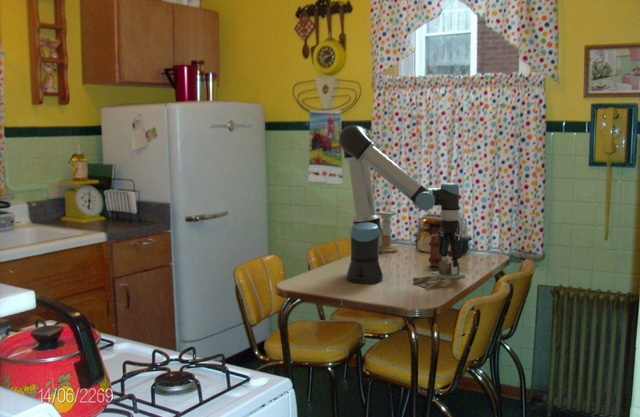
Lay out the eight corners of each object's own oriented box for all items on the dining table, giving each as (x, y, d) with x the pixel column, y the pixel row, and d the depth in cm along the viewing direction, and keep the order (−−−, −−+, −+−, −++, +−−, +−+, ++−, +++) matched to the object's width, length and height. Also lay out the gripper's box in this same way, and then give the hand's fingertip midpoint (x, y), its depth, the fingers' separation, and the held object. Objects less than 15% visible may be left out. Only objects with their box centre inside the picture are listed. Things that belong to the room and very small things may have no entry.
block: (445, 275, 275) (445, 263, 275) (438, 272, 280) (439, 261, 279) (459, 273, 278) (459, 262, 278) (452, 271, 283) (452, 260, 282)
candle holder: (385, 247, 344) (386, 210, 341) (402, 251, 334) (403, 212, 332) (369, 250, 336) (369, 212, 333) (386, 254, 326) (386, 214, 324)
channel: (426, 288, 257) (426, 282, 257) (413, 283, 266) (413, 277, 266) (451, 285, 262) (451, 279, 262) (437, 280, 271) (437, 274, 271)
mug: (432, 268, 294) (433, 235, 292) (424, 264, 302) (425, 232, 300) (461, 266, 298) (462, 234, 296) (453, 263, 305) (454, 231, 304)
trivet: (445, 279, 273) (445, 276, 273) (431, 274, 282) (431, 271, 282) (464, 277, 277) (464, 274, 277) (450, 272, 286) (450, 269, 286)
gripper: (470, 221, 269) (470, 276, 272) (444, 216, 286) (444, 267, 289) (455, 222, 266) (455, 278, 269) (430, 217, 283) (429, 269, 286)
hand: (449, 272), depth 279 cm, fingers open, 6 cm apart
